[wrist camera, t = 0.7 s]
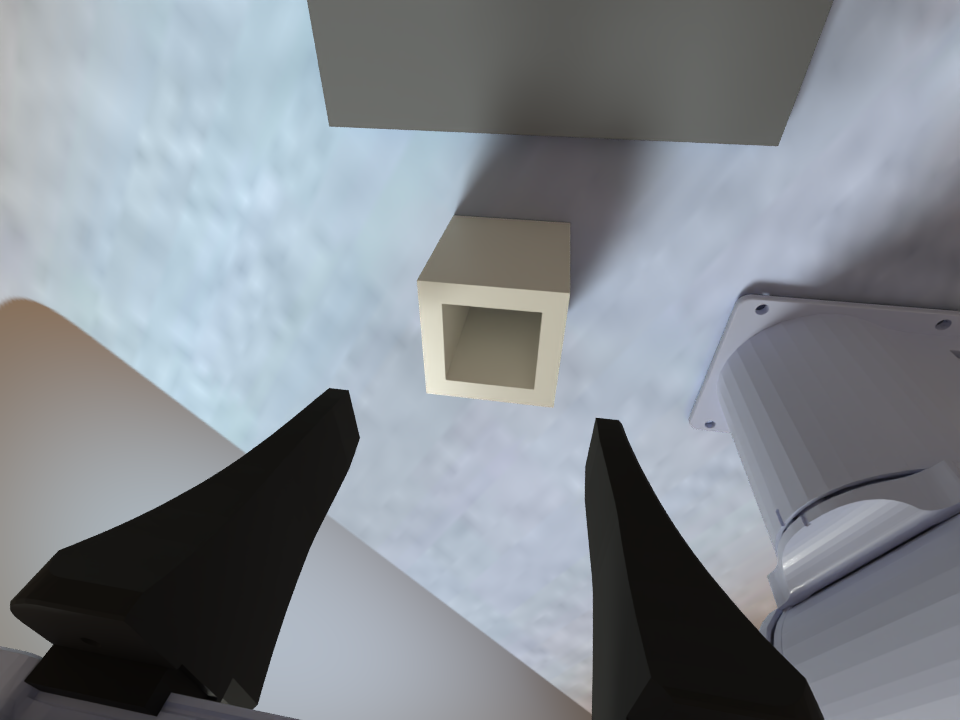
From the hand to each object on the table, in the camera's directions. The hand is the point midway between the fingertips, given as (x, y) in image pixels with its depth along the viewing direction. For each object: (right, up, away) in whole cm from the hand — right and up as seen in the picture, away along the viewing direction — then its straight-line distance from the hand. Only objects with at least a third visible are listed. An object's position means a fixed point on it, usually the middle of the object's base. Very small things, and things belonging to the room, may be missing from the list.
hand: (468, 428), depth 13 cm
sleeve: (+2, +6, +8) cm, 10 cm away
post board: (+3, +16, 0) cm, 16 cm away
